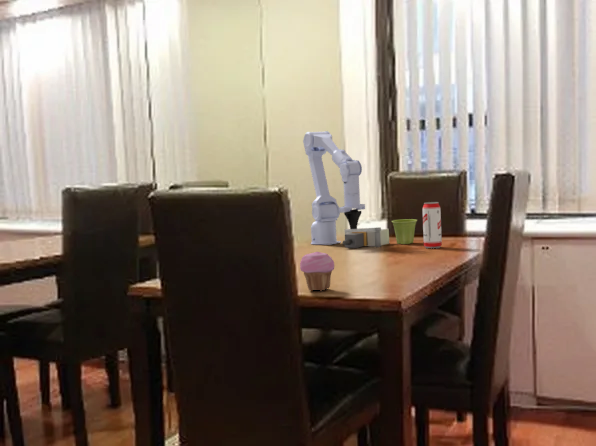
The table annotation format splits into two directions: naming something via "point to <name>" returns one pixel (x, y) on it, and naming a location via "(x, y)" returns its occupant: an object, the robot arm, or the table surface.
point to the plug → (355, 240)
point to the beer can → (432, 225)
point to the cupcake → (317, 270)
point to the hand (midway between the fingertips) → (353, 230)
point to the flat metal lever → (363, 229)
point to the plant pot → (404, 230)
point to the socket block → (376, 237)
